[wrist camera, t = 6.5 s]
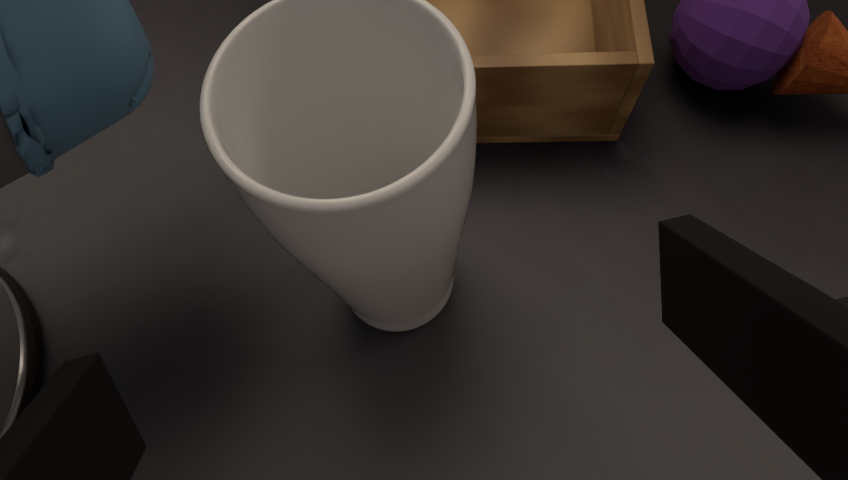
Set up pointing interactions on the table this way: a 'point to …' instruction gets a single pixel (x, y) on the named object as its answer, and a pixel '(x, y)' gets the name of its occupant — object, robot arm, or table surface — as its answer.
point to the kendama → (760, 46)
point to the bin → (554, 66)
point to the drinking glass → (352, 144)
